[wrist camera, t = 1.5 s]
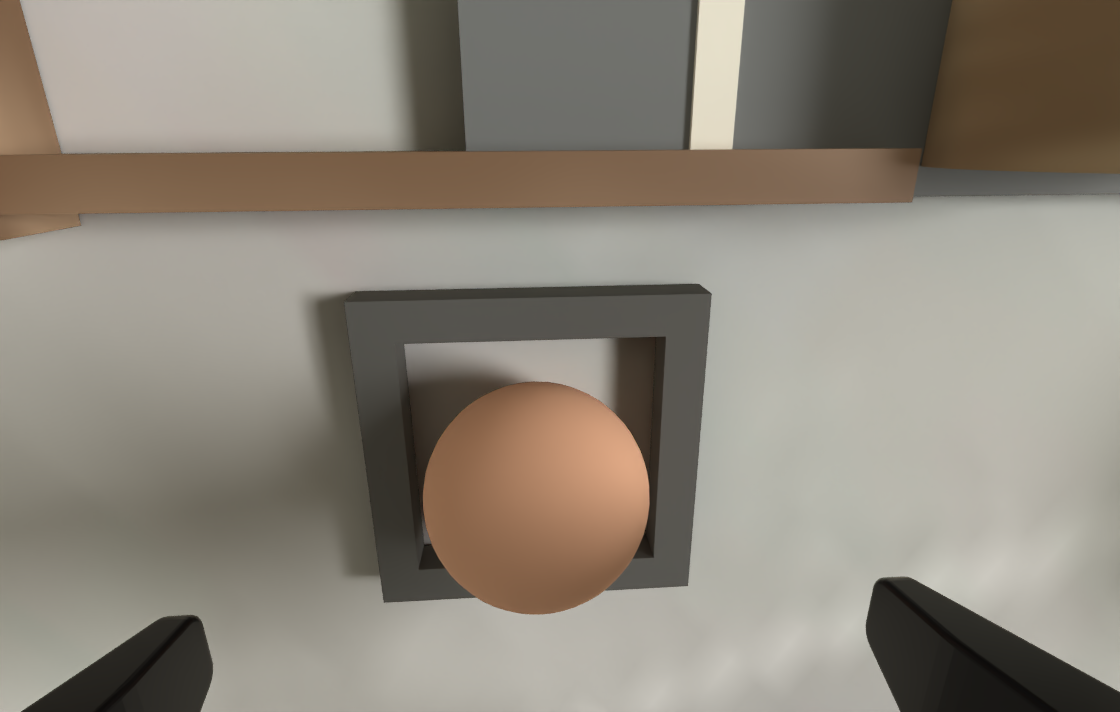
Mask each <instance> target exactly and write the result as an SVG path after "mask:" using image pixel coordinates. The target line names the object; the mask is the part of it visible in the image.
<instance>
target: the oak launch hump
mask: <svg viewBox="0 0 1120 712" xmlns="http://www.w3.org/2000/svg"><path fill="white" fill-rule="evenodd" d="M921 166H922V167H932V168H946V169H966V170H991V171H1021V172H1058V173H1106V174H1120V0H952V5H951V10H950V16H949V21H948V26H947V31H946V37H945V42H944V47H943V53H942V58H941V63H940V68H939V74H938V79H937V84H936V90H935V95H934V100H933V106H932V111H931V116H930V121H929V127H928V132H927V137H926V143H925V148H924V153H923V158H922V164H921Z"/></svg>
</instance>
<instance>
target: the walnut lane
mask: <svg viewBox="0 0 1120 712" xmlns="http://www.w3.org/2000/svg"><path fill="white" fill-rule="evenodd" d="M921 152H922V148H828V149H704V150H565V151H360V152H227V153H94V154H61V150H60V146H59V143H58V139H57V135H56V132H55V128H54V124H53V121H52V117H51V114H50V110H49V106H48V103H47V99H46V95H45V92H44V88H43V84H42V81H41V77H40V73H39V70H38V66H37V62H36V59H35V55H34V51H33V48H32V44H31V40H30V37H29V33H28V30H27V26H26V22H25V19H24V15H23V11H22V8H21V4H20V0H0V240H6V239H11V238H16V237H22V236H27V235H33V234H38V233H43V232H49V231H54V230H60V229H65V228H70V227H76V226H81V223H80V219H79V216H78V214H85V213H159V212H232V211H306V210H380V209H453V208H527V207H601V206H674V205H748V204H822V203H895V202H912V200H913V195H914V189H915V184H916V179H917V173H918V168H919V163H920V157H921Z"/></svg>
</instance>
